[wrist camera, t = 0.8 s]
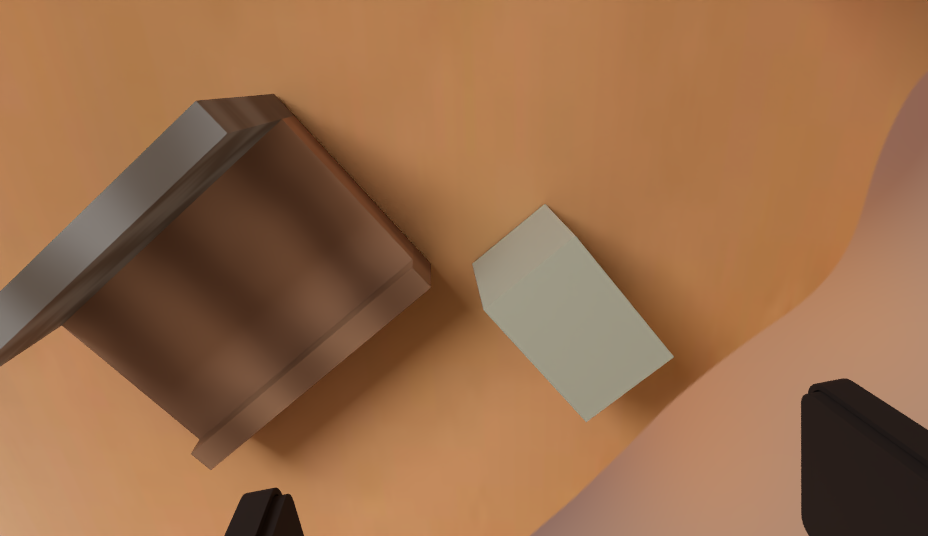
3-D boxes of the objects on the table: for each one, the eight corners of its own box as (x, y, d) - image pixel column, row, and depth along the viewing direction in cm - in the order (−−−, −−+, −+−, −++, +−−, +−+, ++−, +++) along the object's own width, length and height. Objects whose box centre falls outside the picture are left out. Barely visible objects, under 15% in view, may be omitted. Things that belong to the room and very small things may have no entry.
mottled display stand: (273, 94, 34) (195, 100, 22) (430, 263, 37) (432, 344, 26) (68, 288, 36) (-94, 383, 25) (233, 428, 40) (157, 566, 29)
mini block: (544, 203, 37) (575, 236, 29) (628, 306, 39) (677, 360, 32) (472, 263, 38) (483, 310, 30) (558, 360, 40) (589, 425, 33)
